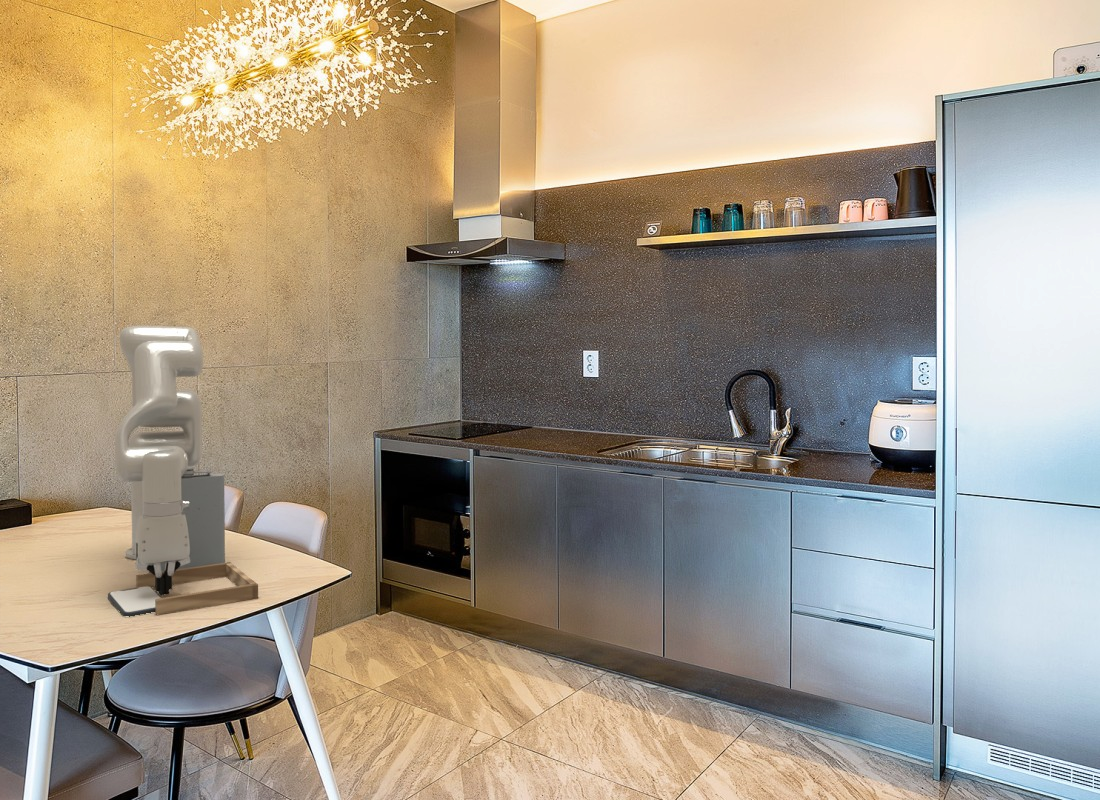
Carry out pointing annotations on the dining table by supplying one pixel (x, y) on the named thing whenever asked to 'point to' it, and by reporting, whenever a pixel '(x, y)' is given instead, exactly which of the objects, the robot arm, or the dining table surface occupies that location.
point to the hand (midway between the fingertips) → (163, 593)
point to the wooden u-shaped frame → (241, 592)
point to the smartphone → (134, 600)
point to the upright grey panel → (204, 517)
